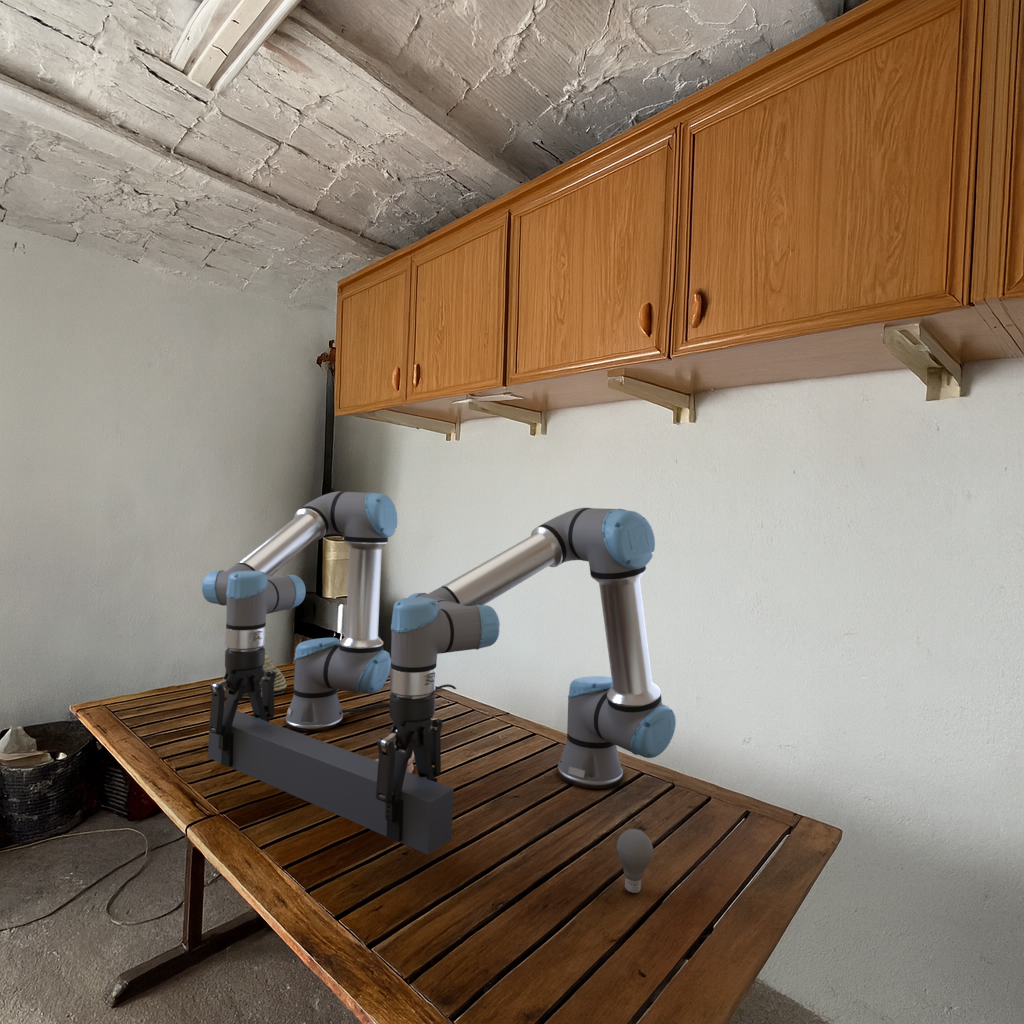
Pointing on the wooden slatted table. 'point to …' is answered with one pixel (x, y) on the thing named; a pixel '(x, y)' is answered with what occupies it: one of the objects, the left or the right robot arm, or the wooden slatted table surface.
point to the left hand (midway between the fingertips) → (241, 759)
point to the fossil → (278, 682)
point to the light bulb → (634, 857)
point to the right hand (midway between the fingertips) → (408, 829)
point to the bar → (337, 780)
